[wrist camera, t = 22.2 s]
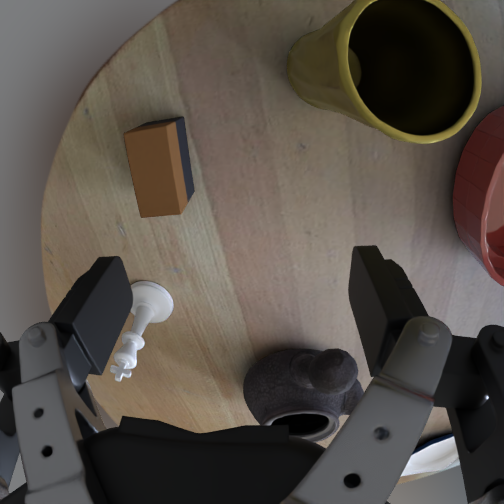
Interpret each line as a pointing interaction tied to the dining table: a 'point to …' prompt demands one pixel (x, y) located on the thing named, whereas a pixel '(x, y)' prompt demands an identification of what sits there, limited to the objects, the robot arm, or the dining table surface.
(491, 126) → the red bowl
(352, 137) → the dining table surface
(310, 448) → the robot arm
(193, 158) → the dining table surface
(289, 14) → the dining table surface
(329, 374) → the teapot
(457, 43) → the vase
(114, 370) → the chess piece
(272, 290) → the dining table surface
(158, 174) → the eraser
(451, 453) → the plate
